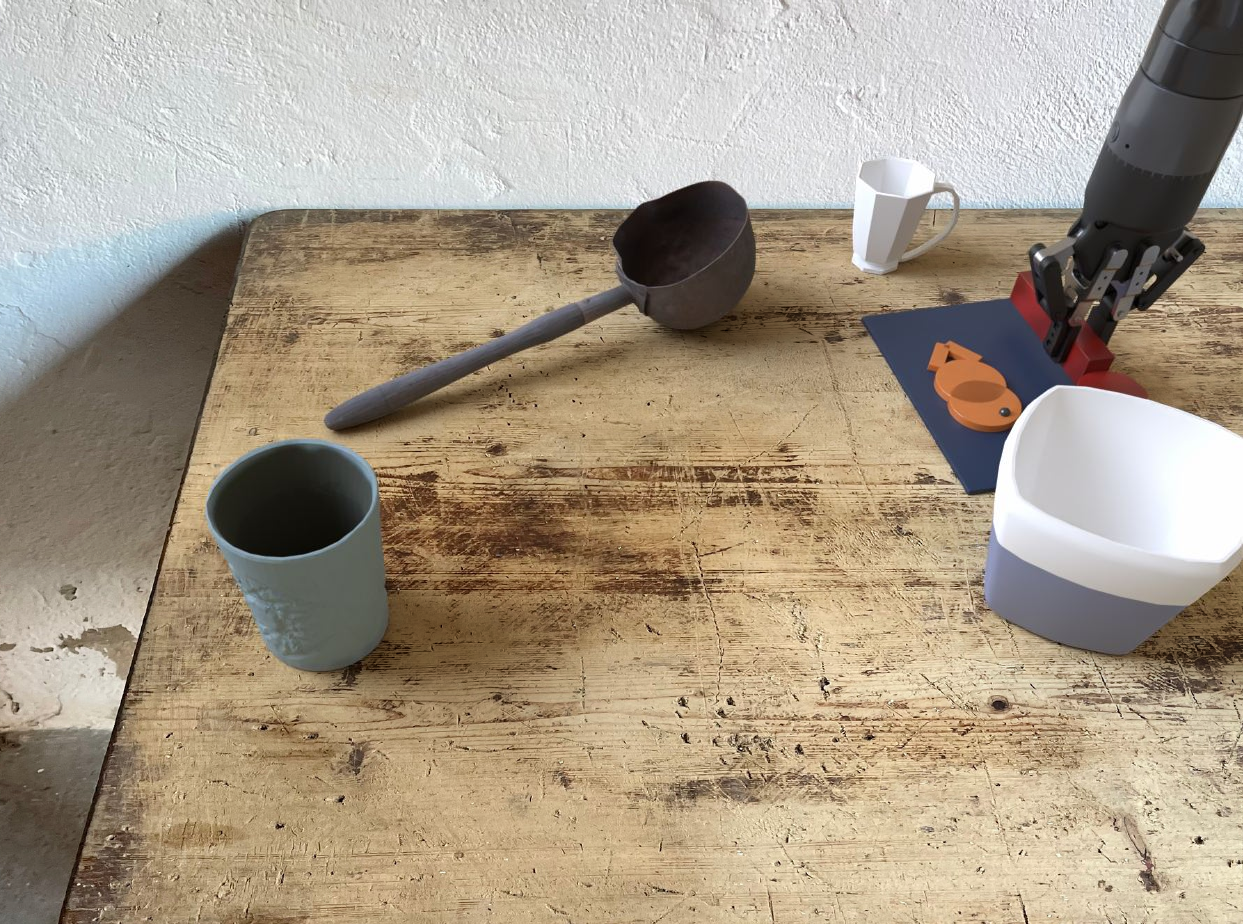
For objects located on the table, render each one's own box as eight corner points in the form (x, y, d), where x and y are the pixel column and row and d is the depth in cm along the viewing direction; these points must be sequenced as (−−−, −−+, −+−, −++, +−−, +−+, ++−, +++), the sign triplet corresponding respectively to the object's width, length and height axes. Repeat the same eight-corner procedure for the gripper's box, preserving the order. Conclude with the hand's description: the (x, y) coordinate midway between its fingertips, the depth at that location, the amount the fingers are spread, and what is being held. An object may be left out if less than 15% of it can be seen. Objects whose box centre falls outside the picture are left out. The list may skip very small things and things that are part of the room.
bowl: (984, 484, 84) (1035, 362, 75) (1197, 551, 80) (1277, 431, 71) (931, 625, 76) (981, 506, 67) (1165, 707, 72) (1252, 593, 63)
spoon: (992, 300, 94) (1002, 273, 92) (1048, 293, 95) (1059, 266, 93) (1091, 432, 84) (1105, 405, 82) (1153, 423, 85) (1168, 396, 83)
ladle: (790, 304, 94) (776, 198, 86) (402, 547, 90) (350, 460, 82) (712, 247, 101) (693, 145, 93) (350, 470, 97) (297, 384, 89)
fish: (910, 351, 93) (913, 339, 92) (972, 343, 94) (976, 331, 93) (964, 437, 87) (969, 425, 86) (1031, 427, 88) (1036, 416, 87)
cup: (828, 241, 104) (846, 156, 97) (932, 235, 104) (957, 151, 98) (846, 285, 99) (867, 200, 93) (955, 279, 100) (983, 194, 94)
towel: (1031, 298, 99) (1033, 294, 98) (1161, 466, 86) (1164, 462, 85) (860, 320, 96) (861, 316, 96) (967, 495, 84) (969, 491, 83)
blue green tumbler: (394, 561, 79) (372, 429, 69) (407, 674, 73) (384, 546, 63) (248, 579, 78) (205, 447, 68) (249, 694, 72) (202, 568, 62)
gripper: (1099, 181, 73) (1011, 395, 86) (1288, 161, 74) (1172, 373, 88) (1046, 125, 77) (970, 337, 91) (1226, 106, 79) (1124, 317, 93)
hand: (1070, 354), depth 89 cm, fingers closed on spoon, 2 cm apart
